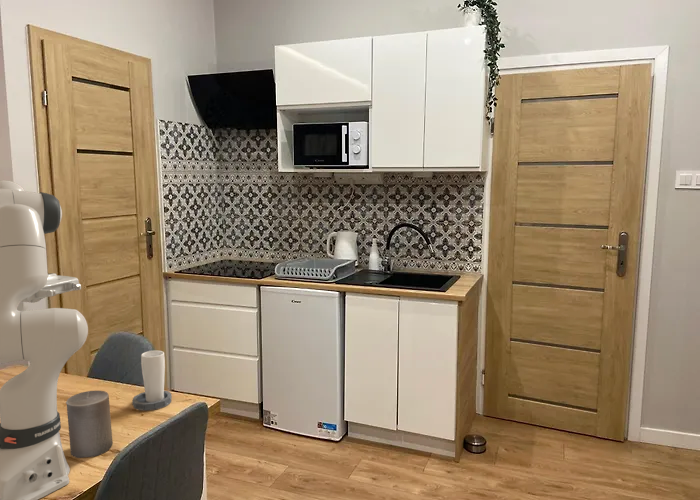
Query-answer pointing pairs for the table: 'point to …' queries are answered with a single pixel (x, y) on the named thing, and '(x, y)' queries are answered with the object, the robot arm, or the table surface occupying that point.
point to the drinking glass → (153, 375)
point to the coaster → (143, 405)
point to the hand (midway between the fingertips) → (66, 290)
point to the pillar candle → (89, 423)
